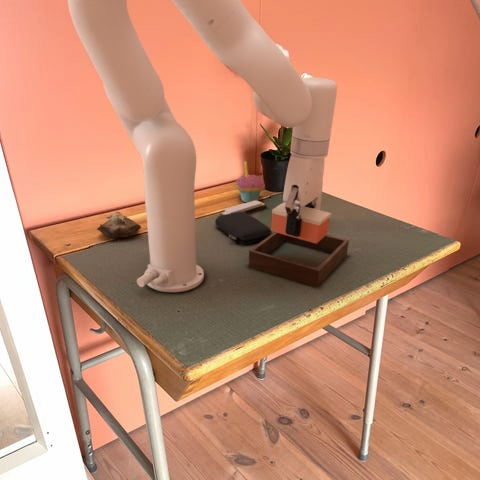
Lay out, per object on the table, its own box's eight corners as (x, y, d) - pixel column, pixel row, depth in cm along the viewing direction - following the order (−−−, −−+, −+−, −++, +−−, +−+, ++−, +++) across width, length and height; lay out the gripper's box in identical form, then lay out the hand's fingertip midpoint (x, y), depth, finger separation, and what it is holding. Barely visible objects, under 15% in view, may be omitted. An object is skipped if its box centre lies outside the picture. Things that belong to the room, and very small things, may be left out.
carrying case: (208, 226, 129) (238, 248, 119) (208, 215, 127) (238, 236, 117) (243, 219, 134) (274, 239, 123) (243, 208, 132) (275, 228, 122)
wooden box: (317, 287, 104) (319, 270, 102) (248, 266, 111) (249, 250, 109) (346, 255, 117) (349, 240, 115) (283, 239, 124) (284, 224, 121)
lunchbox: (316, 244, 105) (320, 221, 103) (270, 231, 110) (272, 209, 107) (327, 234, 110) (331, 213, 107) (282, 222, 114) (284, 201, 112)
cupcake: (245, 206, 141) (246, 164, 134) (229, 197, 147) (230, 156, 140) (269, 201, 145) (272, 160, 138) (253, 192, 151) (255, 152, 144)
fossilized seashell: (92, 233, 118) (133, 242, 118) (97, 205, 118) (139, 214, 118) (100, 236, 125) (139, 245, 126) (105, 210, 125) (144, 219, 125)
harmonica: (227, 221, 132) (227, 213, 131) (219, 217, 134) (219, 210, 133) (266, 208, 140) (266, 201, 139) (259, 205, 142) (259, 198, 141)
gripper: (310, 135, 107) (300, 214, 117) (273, 151, 95) (265, 238, 105) (342, 141, 104) (329, 221, 114) (309, 159, 92) (298, 248, 102)
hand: (299, 229), depth 109 cm, fingers closed on lunchbox, 6 cm apart
